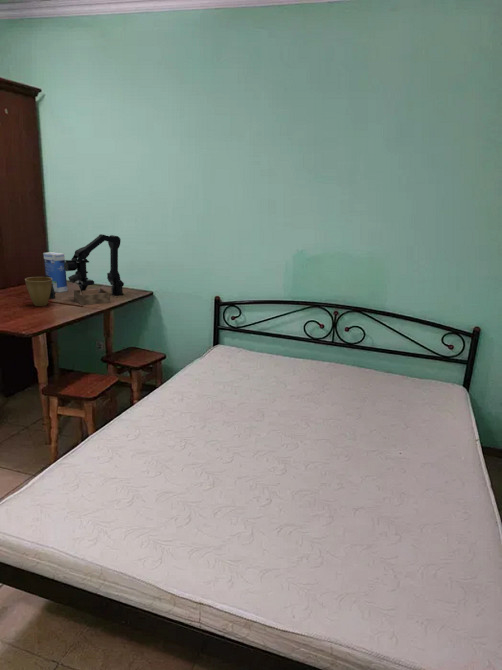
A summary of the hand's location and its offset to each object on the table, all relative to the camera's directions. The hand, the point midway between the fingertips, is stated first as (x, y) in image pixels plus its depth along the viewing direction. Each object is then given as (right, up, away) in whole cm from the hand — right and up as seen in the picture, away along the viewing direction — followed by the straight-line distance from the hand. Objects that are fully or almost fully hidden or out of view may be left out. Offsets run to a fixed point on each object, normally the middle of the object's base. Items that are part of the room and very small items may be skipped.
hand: (82, 293), depth 302 cm
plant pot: (-20, -8, -17) cm, 27 cm away
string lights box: (-26, +4, +22) cm, 34 cm away
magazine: (-25, -3, 0) cm, 25 cm away
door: (+4, -3, +3) cm, 6 cm away
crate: (+7, -5, -2) cm, 9 cm away
